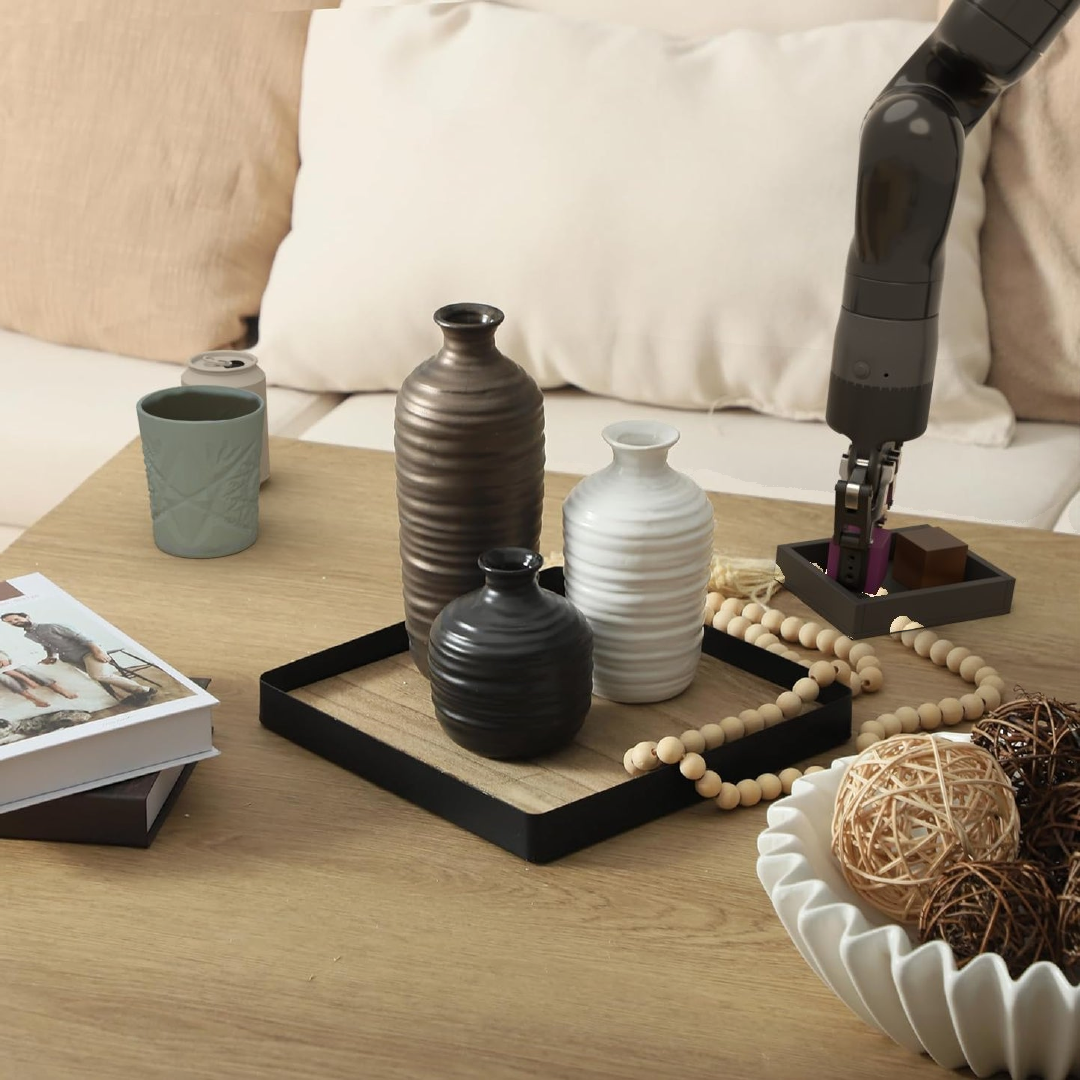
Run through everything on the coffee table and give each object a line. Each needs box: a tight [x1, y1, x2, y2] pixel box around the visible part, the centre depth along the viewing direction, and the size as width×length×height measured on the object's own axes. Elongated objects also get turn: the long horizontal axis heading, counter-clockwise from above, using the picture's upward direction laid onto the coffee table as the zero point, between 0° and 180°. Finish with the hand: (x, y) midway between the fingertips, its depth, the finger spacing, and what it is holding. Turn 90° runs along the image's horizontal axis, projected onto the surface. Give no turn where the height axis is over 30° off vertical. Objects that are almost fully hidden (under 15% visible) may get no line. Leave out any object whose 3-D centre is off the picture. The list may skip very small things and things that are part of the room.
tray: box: [774, 523, 1017, 641], centre depth 117 cm, size 15×12×3 cm
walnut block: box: [891, 526, 969, 591], centre depth 118 cm, size 4×4×4 cm
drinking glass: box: [135, 385, 265, 559], centre depth 122 cm, size 10×10×12 cm
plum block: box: [827, 525, 892, 595], centre depth 115 cm, size 4×4×4 cm
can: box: [180, 349, 271, 486], centre depth 134 cm, size 8×8×12 cm
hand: (856, 577), depth 116 cm, fingers closed on plum block, 4 cm apart
